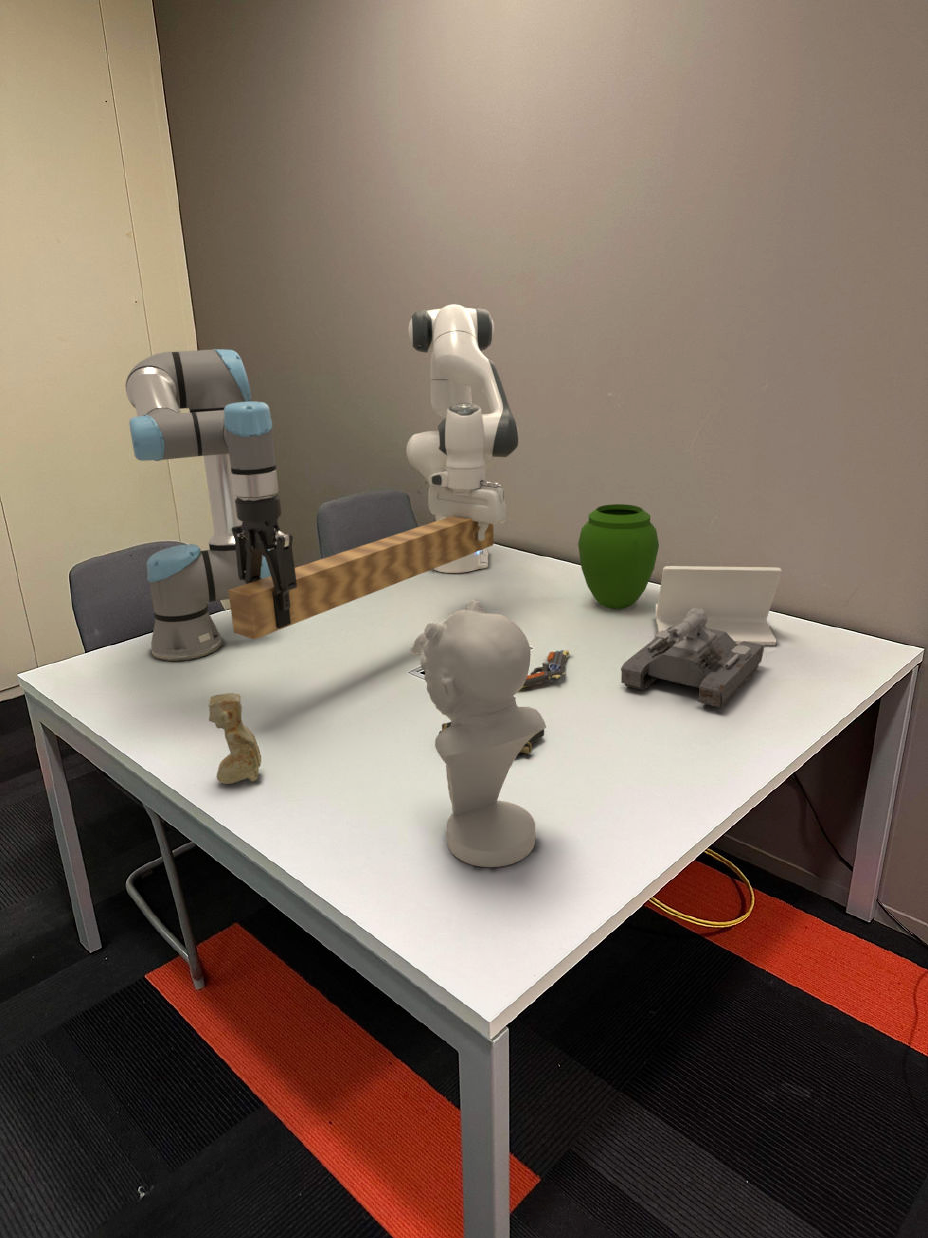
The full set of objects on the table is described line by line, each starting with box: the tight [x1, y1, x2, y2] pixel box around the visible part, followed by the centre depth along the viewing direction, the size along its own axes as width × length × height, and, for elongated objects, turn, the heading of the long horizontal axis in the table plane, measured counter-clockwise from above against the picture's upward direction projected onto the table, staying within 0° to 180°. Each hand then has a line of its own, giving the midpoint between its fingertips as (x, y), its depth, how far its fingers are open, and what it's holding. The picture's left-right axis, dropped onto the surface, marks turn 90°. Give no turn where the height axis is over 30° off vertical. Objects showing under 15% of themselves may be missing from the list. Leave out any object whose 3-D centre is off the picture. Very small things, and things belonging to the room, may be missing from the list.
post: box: [228, 516, 495, 640], centre depth 174 cm, size 72×6×8 cm, turn 143°
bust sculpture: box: [410, 599, 547, 868], centre depth 121 cm, size 16×24×35 cm
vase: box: [577, 503, 660, 610], centre depth 210 cm, size 20×20×24 cm
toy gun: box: [521, 649, 571, 689], centre depth 177 cm, size 3×19×10 cm
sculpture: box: [208, 692, 262, 785], centre depth 138 cm, size 6×7×15 cm
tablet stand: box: [654, 565, 783, 646], centre depth 194 cm, size 18×25×17 cm
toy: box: [620, 608, 766, 709], centre depth 170 cm, size 25×20×15 cm
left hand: (272, 621), depth 154 cm, fingers closed on post, 6 cm apart
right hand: (467, 537), depth 197 cm, fingers closed on post, 5 cm apart
